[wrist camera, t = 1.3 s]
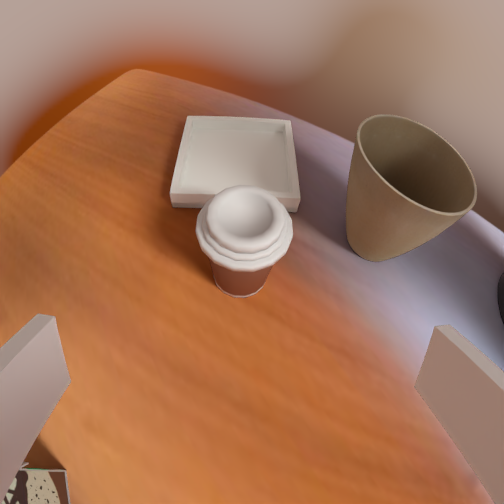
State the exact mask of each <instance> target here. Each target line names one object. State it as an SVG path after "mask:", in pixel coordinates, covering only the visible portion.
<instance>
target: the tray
mask: <svg viewBox="0 0 504 504" xmlns="http://www.w3.org/2000/svg"><path fill="white" fill-rule="evenodd" d="M237 185H251V186H256V187H259V188H262V189H264V190H267V191H268V192H270V193H271V194H272V195H273V196H275V197H276V198H277V199H278V200H279V202H280V203H282V204H283V205H284V207H285V208H286V210H287V212H297V209H298V206H299V203H300V199H301V197H300V189H299V180H298V172H297V164H296V156H295V148H294V141H293V134H292V126H291V121H289V120H278V119H265V118H249V117H226V116H187V120H186V124H185V128H184V132H183V136H182V140H181V144H180V148H179V152H178V157H177V161H176V166H175V170H174V175H173V179H172V184H171V189H170V198H171V203H172V207H179V208H203V206H204V205H205V203H206V202H207V201H208V200H209V199H211V198H212V197H214V196H215V195H216V194H218V193H219V192H221V191H222V190H224V189H225V188H229V187H233V186H237Z"/></svg>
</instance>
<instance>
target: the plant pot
mask: <svg viewBox="0 0 504 504" xmlns="http://www.w3.org/2000/svg"><path fill="white" fill-rule="evenodd" d="M476 198H477V187H476V183H475V179H474V177H473V174H472V172H471V170H470V168H469V166H468V165H467V163H466V162H465V160H464V159H463V158H462V156H461V155H460V154H459V153H458V151H457V150H456V149H455V148H454V147H453V146H452V145H451V144H450V143H448V142H447V141H446V140H445V139H444V138H443V137H441V136H440V135H439V134H437V133H436V132H434V131H433V130H431V129H430V128H428V127H426V126H424V125H422V124H420V123H418V122H416V121H413V120H411V119H408V118H404V117H401V116H396V115H375V116H372V117H369V118H368V119H366V120H364V121H363V122H362V123H361V124H360V126H359V128H358V131H357V136H356V141H355V146H354V151H353V155H352V160H351V166H350V172H349V179H348V188H347V200H346V234H347V239H348V242H349V245H350V246H351V248H352V249H353V250H354V251H355V252H356V253H357V254H358V255H359V256H361V257H362V258H364V259H366V260H369V261H374V262H380V261H384V260H387V259H391V258H393V257H396V256H399V255H401V254H404V253H406V252H408V251H411V250H413V249H415V248H417V247H418V246H420V245H422V244H424V243H426V242H427V241H429V240H431V239H432V238H434V237H436V236H437V235H439V234H440V233H442V232H443V231H444V230H446V229H447V228H448V227H450V226H451V225H452V224H454V223H455V222H456V221H458V220H459V219H460V218H461V217H463V216H464V215H465V214H466V213H467V212H469V211H470V210H471V209H472V208H473V206H474V204H475V202H476Z"/></svg>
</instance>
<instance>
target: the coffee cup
mask: <svg viewBox="0 0 504 504" xmlns="http://www.w3.org/2000/svg"><path fill="white" fill-rule="evenodd" d="M196 236H197V239H198V242H199V244H200V247H201V250H202V251H203V252H204V253H205V254H206V255H207V256H208V257H209V260H210V264H211V268H212V271H213V277H214V279H215V282H216V285H217V286H218V287H219V289H220V290H221V291H222V292H223V293H225V294H227V295H229V296H232V297H234V298H246V297H249V296H252V295H255V294H256V293H257V292H258V291H260V290H261V289H262V288H263V286H264V283H265V281H266V279H267V276H268V274H269V272H270V270H271V268H272V266H273V265H274V264H275V263H276V262H277V261H278V260H279V259H280V258H282V257H283V256H284V255H285V254H286V252H287V249H288V247H289V245H290V242H291V240H292V237H293V229H292V219H291V217H290V216H289V214H288V212H287V210H286V208H285V207H284V205H283V204H282V203H280V202H279V200H278V199H277V198H276V197H275V196H273V195H272V194H271V193H270V192H268V191H267V190H264V189H262V188H259V187H256V186H251V185H237V186H233V187H229V188H225V189H224V190H222V191H221V192H219V193H218V194H216V195H215V196H214V197H212V198H211V199H209V200H208V201H207V202H206V203H205V205H204V206H203V208H202V209H201V211H200V212H199V214H198V216H197V223H196Z"/></svg>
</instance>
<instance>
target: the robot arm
mask: <svg viewBox="0 0 504 504" xmlns="http://www.w3.org/2000/svg"><path fill="white" fill-rule="evenodd" d="M498 302H499V308H500V313H501V316H502V319H503V322H504V273H503V275H502V276H501V279H500V282H499V286H498ZM70 383H71V379H70V376H69V372H68V369H67V365H66V361H65V358H64V354H63V350H62V346H61V341H60V337H59V333H58V328H57V323H56V318H55V316H50V315H43V314H37V315H36V316H35V317H34V318H32V319H31V320H30V321H29V322H28V323H27V324H26V325H25V326H24V327H22V328H21V329H20V330H19V331H18V332H17V333H16V334H15V335H14V336H13V337H12V338H11V339H9V340H8V341H7V342H6V343H5V344H4V345H3V346H2V347H1V348H0V504H1V503H2V501H3V499H4V497H5V495H6V493H7V491H8V489H9V487H10V485H11V484H12V482H13V480H14V478H15V476H16V474H17V472H18V470H19V468H20V467H21V465H22V463H23V461H24V459H25V457H26V456H27V454H28V452H29V450H30V449H31V447H32V445H33V443H34V441H35V440H36V438H37V436H38V435H39V433H40V431H41V429H42V428H43V426H44V424H45V423H46V421H47V419H48V418H49V416H50V414H51V413H52V411H53V410H54V408H55V406H56V405H57V403H58V401H59V400H60V398H61V397H62V395H63V393H64V392H65V390H66V389H67V387H68V386H69V384H70ZM414 387H415V389H416V390H417V391H418V393H419V394H420V395H421V397H422V398H423V400H424V401H425V402H426V404H427V405H428V406H429V408H430V409H431V410H432V412H433V413H434V415H435V416H436V417H437V419H438V420H439V422H440V423H441V424H442V426H443V427H444V429H445V430H446V431H447V433H448V434H449V436H450V437H451V439H452V440H453V441H454V443H455V444H456V446H457V447H458V449H459V450H460V452H461V453H462V454H463V456H464V457H465V459H466V460H467V462H468V463H469V465H470V466H471V468H472V469H473V471H474V472H475V474H476V475H477V477H478V478H479V480H480V481H481V483H482V484H483V486H484V487H485V489H486V490H487V492H488V494H489V495H490V497H491V498H492V500H493V501H494V503H495V504H504V372H503V371H502V370H501V369H500V368H499V367H498V366H497V365H496V364H495V363H493V362H492V361H491V360H490V359H489V358H488V357H487V356H486V355H485V354H483V353H482V352H481V351H480V350H479V349H478V348H477V347H475V346H474V345H473V344H472V343H471V342H470V341H468V340H467V339H466V338H465V337H464V336H463V335H461V334H460V333H459V332H458V331H457V330H456V329H454V328H453V327H452V326H451V325H441V326H435V327H434V330H433V334H432V337H431V340H430V343H429V346H428V349H427V352H426V355H425V358H424V361H423V364H422V367H421V370H420V372H419V375H418V378H417V380H416V383H415V386H414Z"/></svg>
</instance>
